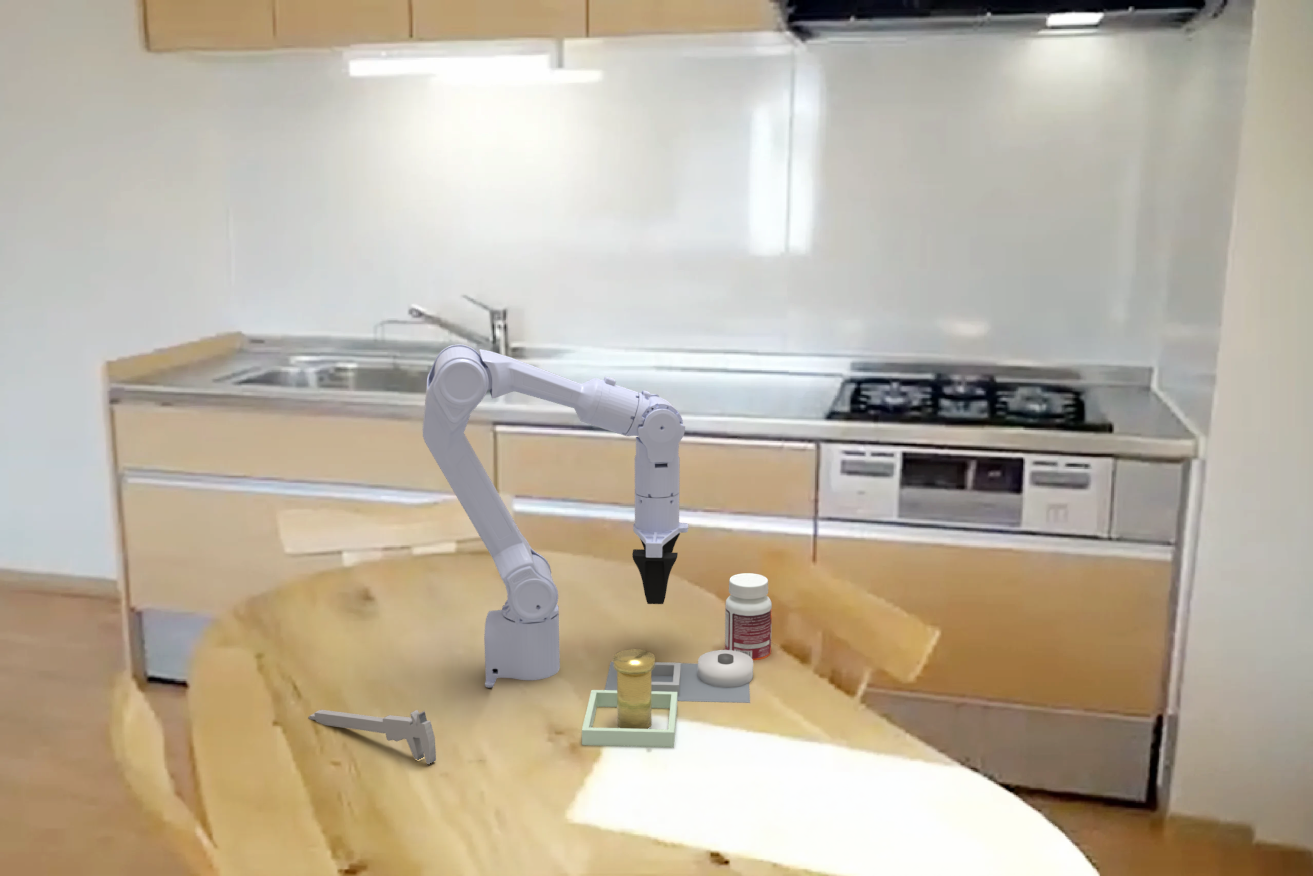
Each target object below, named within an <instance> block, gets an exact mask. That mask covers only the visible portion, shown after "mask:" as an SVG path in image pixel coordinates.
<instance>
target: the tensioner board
mask: <svg viewBox="0 0 1313 876" xmlns="http://www.w3.org/2000/svg"><path fill="white" fill-rule="evenodd" d="M753 679H754V660H752V658H751V657H750V656H748V655H747V654H745V653H742V652H738V651H733V650H725V649H719V650H711V651H707V652H705V653H703V654H701V655H700V656H699V657H698V659H697V663H695V662H694V663H689V662H688V663H687V662H686V663H684V662H663V661H661V662H660V661H655V667H654V669H653V670H651V691H662V692H677V702H695V703H696V702H697V703H698V702H700V703H702V702H704V703H737V704H738V703H745V704H751V696H750V695H751V693H750V692H751V691H750V682H751V681H752V680H753ZM604 690H617V671H616V670H615V669H614V667H613V661H610V663H609V668H608V673H607V676H606V682H605V686H604Z"/></svg>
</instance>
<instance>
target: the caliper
mask: <svg viewBox="0 0 1313 876" xmlns="http://www.w3.org/2000/svg"><path fill="white" fill-rule="evenodd" d="M307 718H308V719H309V720H312V721H313V720H314V721H315V722H316V723H318V724H321V725H323V726H328V727H329V726H331V727H337V728H343V729H352V730H358V731H366V732H372V733H379V734H385V738H386V740H387V741H395V742H400V741H403V740H406V742H407V745H408V747H409V750H410V752H411V754H412V757H413V759H414V758H415V759H417V760H419V759H421V758H423V757H425V759H424V760H425V762H426V763H427V764H429V765H431V764H433V763H434V761H435V762H436V760H437V751H436V750H437V749H436V737H435V733H434V729H433V726H432V721H431V720H428V719H427V715H426V711H425V710H423V711H421V712H419V710H418V709H416V710H414V711H412V712H410V717H409V716H402V715H401V716H400V715H399V716H398V715H391V714H389V715H387V716H385V717H380V716H372V715H366V714H365V715H364V714H357V713H349V712H342V711H333V710H328V709H326V710H325V709H319V710H317V711H315V712H313V713H312V714H310V715H309V716H308V717H307ZM415 759H414V760H415ZM432 762H433V763H432ZM430 763H431V764H430ZM427 764H426V765H427Z"/></svg>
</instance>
